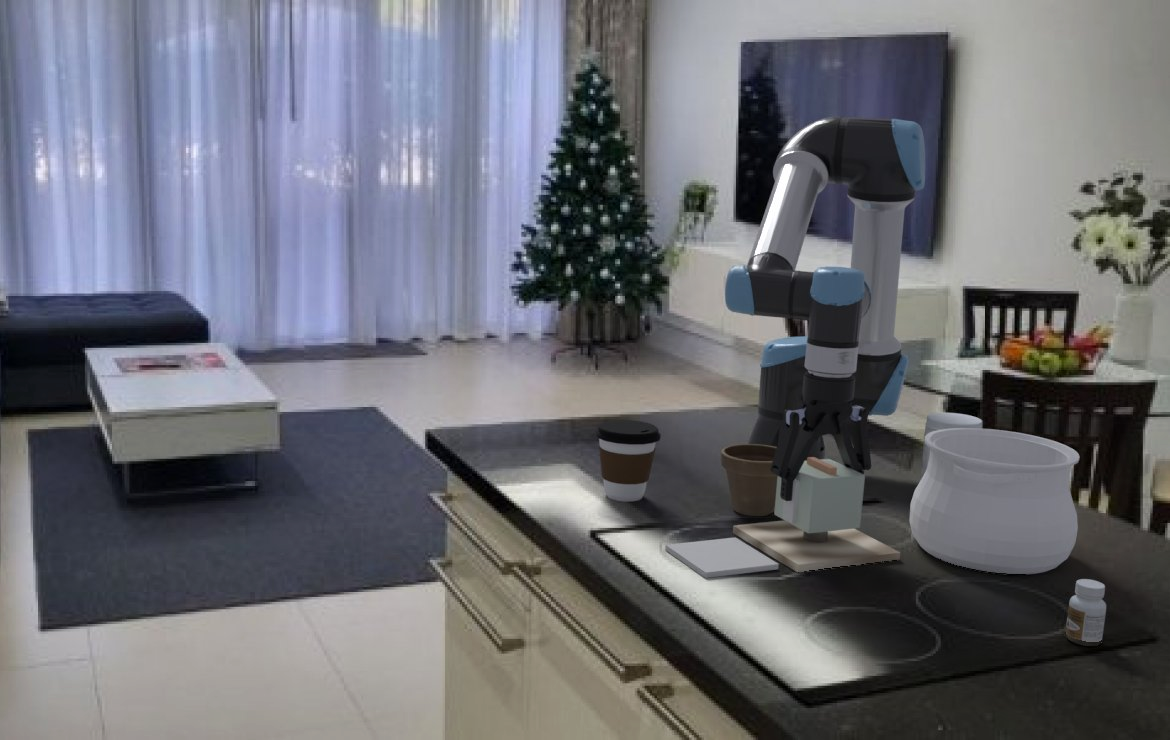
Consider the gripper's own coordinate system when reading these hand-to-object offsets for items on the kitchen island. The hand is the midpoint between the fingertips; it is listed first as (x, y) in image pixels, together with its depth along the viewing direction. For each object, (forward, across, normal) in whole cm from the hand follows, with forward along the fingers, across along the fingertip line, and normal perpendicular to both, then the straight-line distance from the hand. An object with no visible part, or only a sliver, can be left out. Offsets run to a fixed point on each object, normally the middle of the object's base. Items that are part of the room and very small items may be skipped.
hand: (816, 517), depth 194 cm
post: (+5, 0, 0) cm, 5 cm away
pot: (+5, +25, -10) cm, 27 cm away
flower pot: (+5, 0, +18) cm, 19 cm away
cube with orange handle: (+1, 0, 0) cm, 1 cm away
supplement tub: (+5, +37, +14) cm, 40 cm away
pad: (+5, -17, -1) cm, 18 cm away
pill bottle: (+5, +13, -41) cm, 43 cm away
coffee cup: (+5, -17, +31) cm, 36 cm away
